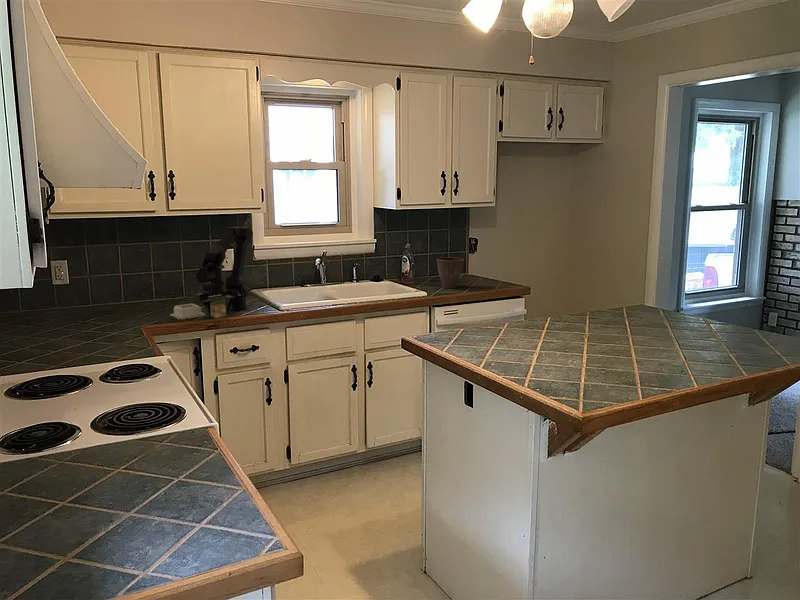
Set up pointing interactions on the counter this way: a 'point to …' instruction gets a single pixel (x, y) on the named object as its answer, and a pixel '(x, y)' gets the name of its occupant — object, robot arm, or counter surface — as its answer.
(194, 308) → the base
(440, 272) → the plant pot
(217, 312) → the block
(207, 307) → the robot arm
